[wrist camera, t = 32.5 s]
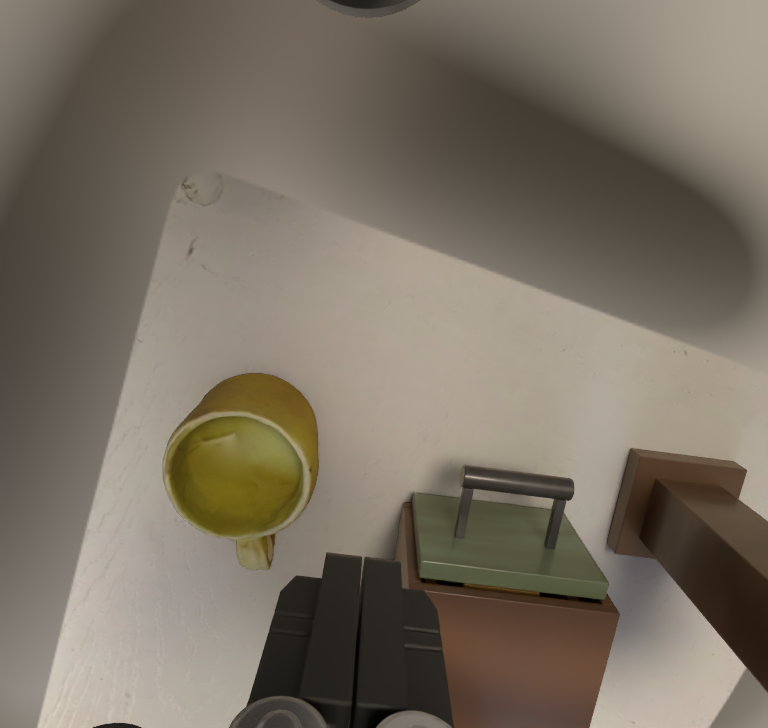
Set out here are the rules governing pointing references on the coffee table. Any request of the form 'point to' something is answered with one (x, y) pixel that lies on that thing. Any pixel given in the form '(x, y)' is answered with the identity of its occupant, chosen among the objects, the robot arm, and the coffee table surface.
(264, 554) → the mug
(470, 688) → the cabinet
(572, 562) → the drawer
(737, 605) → the stand
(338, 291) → the coffee table surface
